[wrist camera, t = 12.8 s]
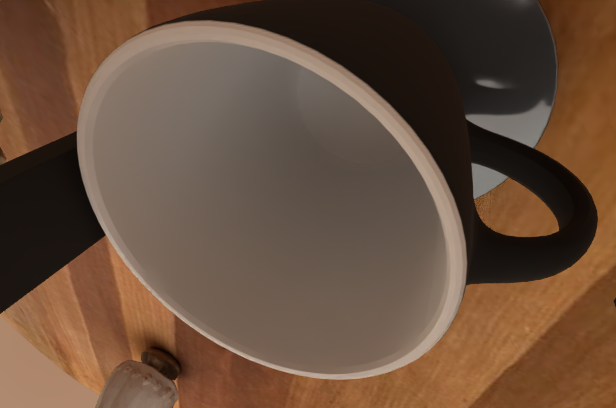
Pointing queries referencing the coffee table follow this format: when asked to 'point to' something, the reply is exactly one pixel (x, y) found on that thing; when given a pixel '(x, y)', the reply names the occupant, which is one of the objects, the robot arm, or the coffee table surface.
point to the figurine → (142, 383)
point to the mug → (308, 183)
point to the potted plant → (0, 155)
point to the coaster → (494, 65)
